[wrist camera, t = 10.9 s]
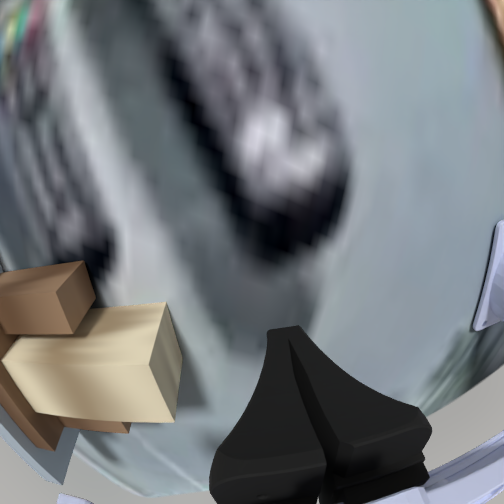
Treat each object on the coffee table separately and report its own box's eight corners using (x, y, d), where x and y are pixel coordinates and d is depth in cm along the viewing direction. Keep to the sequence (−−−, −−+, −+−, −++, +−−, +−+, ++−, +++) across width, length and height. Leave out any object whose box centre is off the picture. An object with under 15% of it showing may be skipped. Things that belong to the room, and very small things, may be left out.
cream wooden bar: (166, 300, 14) (148, 364, 10) (183, 356, 15) (174, 422, 11) (38, 310, 14) (0, 360, 10) (62, 359, 15) (35, 412, 11)
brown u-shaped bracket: (83, 260, 13) (31, 320, 8) (137, 395, 16) (122, 462, 11) (1, 272, 12) (-51, 320, 8) (60, 391, 16) (36, 447, 11)
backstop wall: (-15, 211, 11) (-91, 255, 6) (82, 421, 17) (62, 485, 12) (-30, 216, 11) (-101, 259, 6) (67, 419, 17) (46, 480, 12)
